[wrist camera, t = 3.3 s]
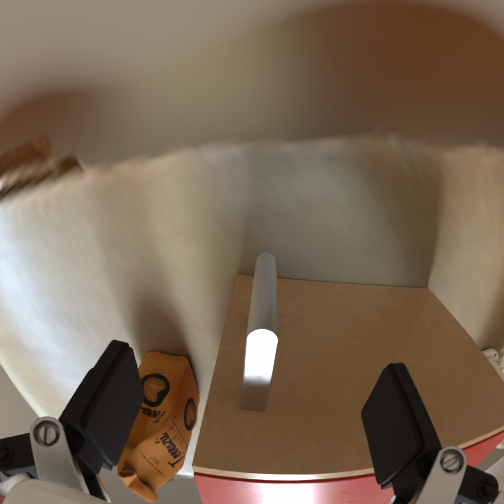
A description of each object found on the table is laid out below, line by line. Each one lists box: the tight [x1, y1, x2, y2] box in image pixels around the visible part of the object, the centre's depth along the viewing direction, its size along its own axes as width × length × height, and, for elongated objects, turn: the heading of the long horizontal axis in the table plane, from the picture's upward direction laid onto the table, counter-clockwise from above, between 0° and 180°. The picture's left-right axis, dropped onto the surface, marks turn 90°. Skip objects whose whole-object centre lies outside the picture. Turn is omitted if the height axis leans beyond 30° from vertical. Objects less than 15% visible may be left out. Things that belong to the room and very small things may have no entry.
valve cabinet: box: [194, 430, 504, 504], centre depth 26 cm, size 18×26×24 cm
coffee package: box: [117, 351, 200, 502], centre depth 31 cm, size 10×12×22 cm
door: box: [192, 253, 504, 480], centre depth 21 cm, size 8×26×24 cm, turn 86°
